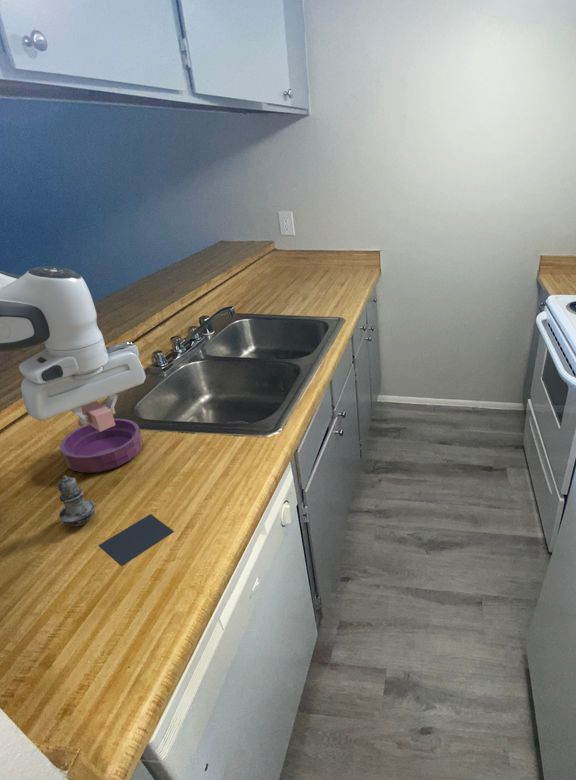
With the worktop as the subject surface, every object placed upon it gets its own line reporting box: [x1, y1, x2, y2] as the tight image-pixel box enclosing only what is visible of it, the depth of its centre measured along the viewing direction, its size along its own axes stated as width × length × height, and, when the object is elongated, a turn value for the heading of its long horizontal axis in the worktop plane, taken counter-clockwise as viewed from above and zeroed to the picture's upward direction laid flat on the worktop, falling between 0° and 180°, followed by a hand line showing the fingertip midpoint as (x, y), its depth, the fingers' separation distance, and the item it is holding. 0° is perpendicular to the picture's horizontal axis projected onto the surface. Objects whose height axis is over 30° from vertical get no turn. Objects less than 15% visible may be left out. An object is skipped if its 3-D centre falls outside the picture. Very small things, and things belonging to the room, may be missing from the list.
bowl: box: [59, 418, 144, 474], centre depth 109 cm, size 16×16×5 cm
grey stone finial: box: [57, 474, 96, 527], centre depth 88 cm, size 6×6×12 cm
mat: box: [98, 513, 175, 567], centre depth 88 cm, size 10×8×1 cm
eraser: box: [81, 400, 115, 432], centre depth 93 cm, size 6×3×4 cm, turn 55°
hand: (98, 418), depth 93 cm, fingers closed on eraser, 3 cm apart
